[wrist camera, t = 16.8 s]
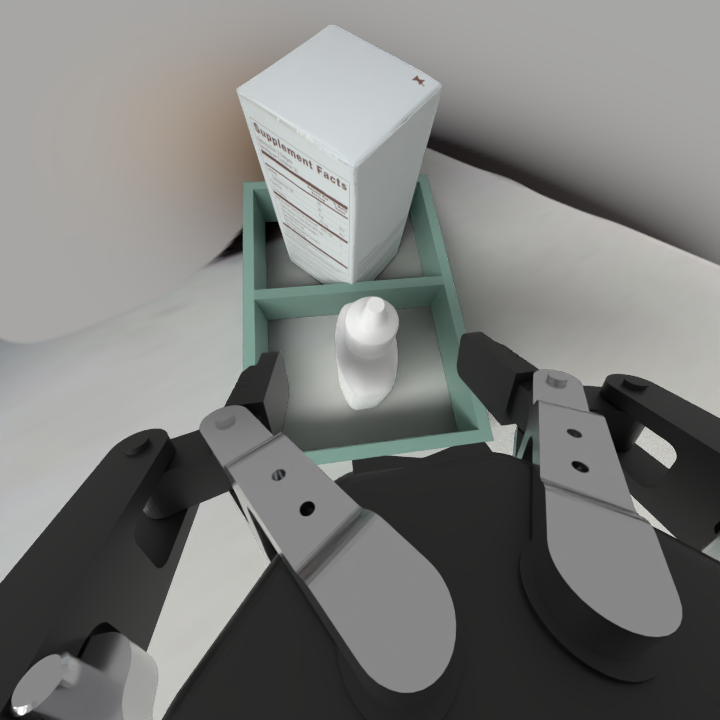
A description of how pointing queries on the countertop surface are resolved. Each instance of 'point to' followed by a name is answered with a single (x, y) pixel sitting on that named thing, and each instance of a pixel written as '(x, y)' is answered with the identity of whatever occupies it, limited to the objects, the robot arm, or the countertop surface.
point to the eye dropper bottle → (366, 351)
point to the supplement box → (340, 150)
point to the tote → (332, 297)
